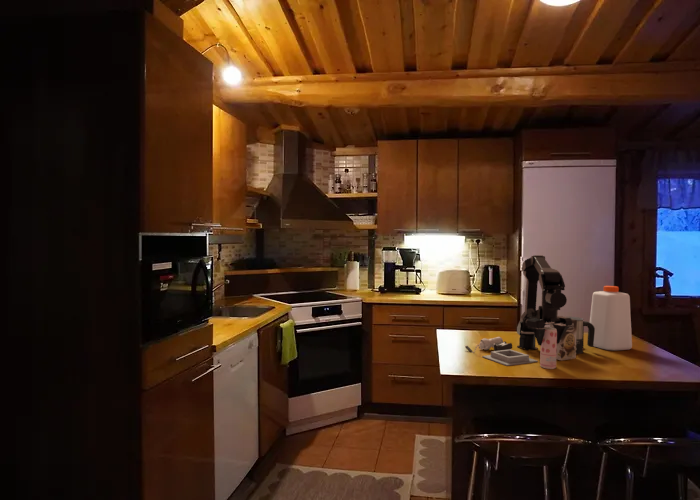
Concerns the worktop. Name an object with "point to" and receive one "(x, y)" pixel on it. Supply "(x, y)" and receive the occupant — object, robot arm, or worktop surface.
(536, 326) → the robot arm
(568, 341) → the coffee box
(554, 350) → the beverage can
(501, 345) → the clip-on lamp
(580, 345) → the milk frother
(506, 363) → the grey plate with frame
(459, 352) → the worktop surface
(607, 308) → the plastic bottle
